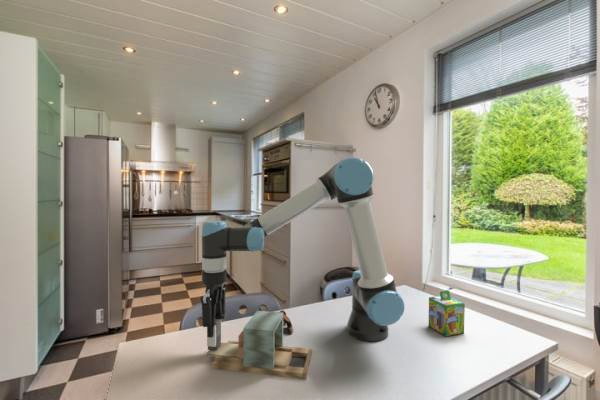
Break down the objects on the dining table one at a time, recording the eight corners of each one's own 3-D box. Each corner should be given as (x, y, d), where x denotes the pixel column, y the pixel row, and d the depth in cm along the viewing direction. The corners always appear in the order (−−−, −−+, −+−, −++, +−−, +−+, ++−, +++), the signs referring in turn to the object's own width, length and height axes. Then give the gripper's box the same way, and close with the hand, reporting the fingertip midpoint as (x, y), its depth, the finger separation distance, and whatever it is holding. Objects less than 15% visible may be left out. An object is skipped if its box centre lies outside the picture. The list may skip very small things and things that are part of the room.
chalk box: (445, 337, 103) (446, 296, 103) (427, 326, 112) (427, 288, 111) (465, 333, 106) (466, 294, 105) (445, 323, 114) (446, 286, 114)
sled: (274, 350, 90) (274, 321, 90) (268, 362, 84) (269, 331, 83) (214, 344, 94) (215, 316, 93) (204, 355, 87) (204, 325, 87)
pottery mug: (294, 339, 101) (283, 322, 99) (271, 348, 103) (260, 331, 101) (296, 317, 113) (286, 301, 111) (275, 325, 114) (265, 309, 112)
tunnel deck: (311, 353, 91) (312, 314, 91) (305, 379, 79) (306, 334, 78) (230, 345, 96) (230, 308, 96) (212, 368, 83) (212, 325, 83)
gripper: (215, 263, 98) (215, 329, 99) (189, 276, 82) (189, 355, 83) (235, 264, 97) (235, 331, 97) (213, 277, 81) (213, 358, 81)
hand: (214, 342), depth 90 cm, fingers closed on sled, 3 cm apart
